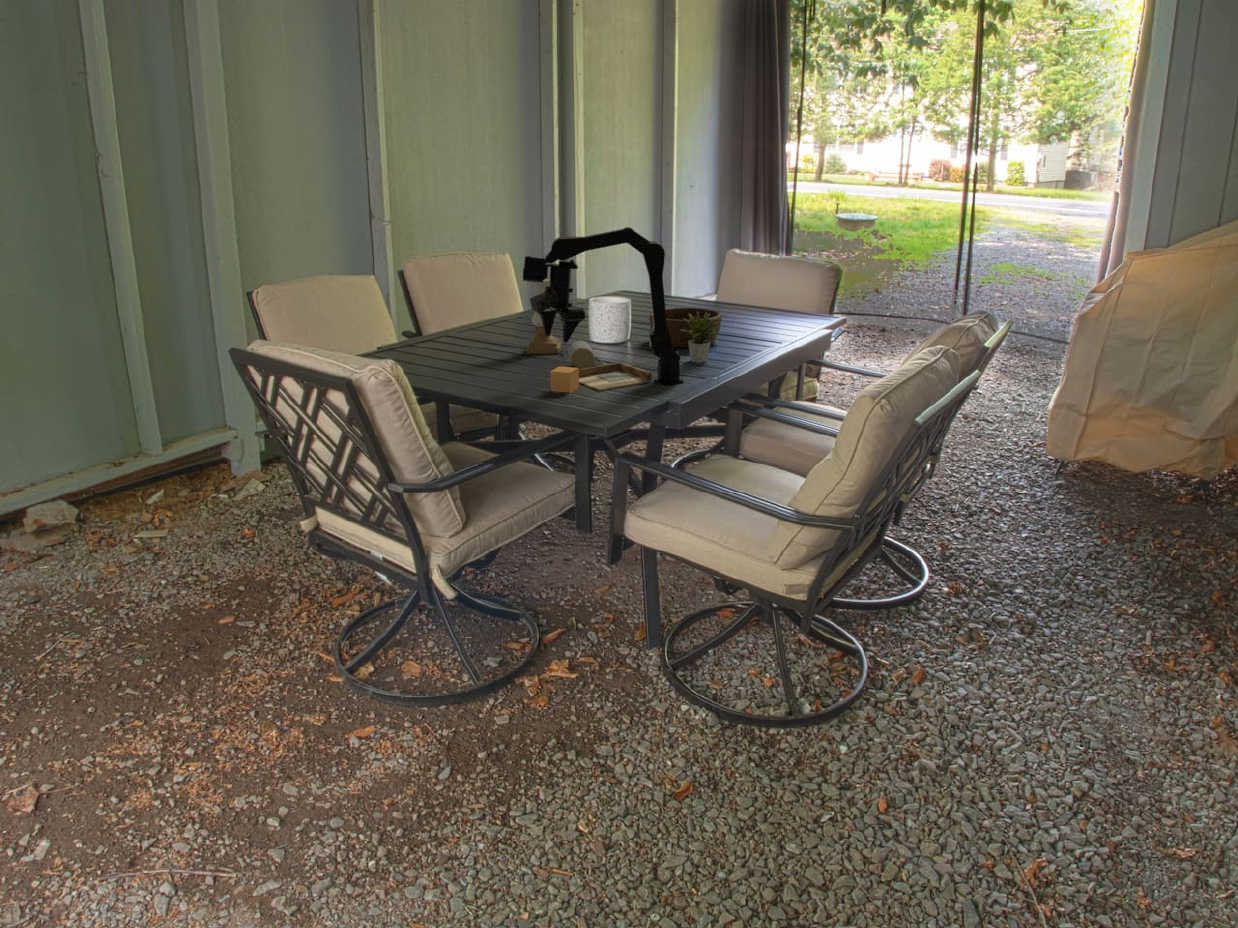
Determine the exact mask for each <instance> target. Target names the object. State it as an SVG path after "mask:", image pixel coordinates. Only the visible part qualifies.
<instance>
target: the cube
mask: <svg viewBox="0 0 1238 928" xmlns="http://www.w3.org/2000/svg"><path fill="white" fill-rule="evenodd" d="M549 376H550V392H551V391H558V392H557V393H559V392H569V393H571V392H572V393H574V392H575V391H574V390H576V389H577V390H579V389H580V383H579V368H576V367H571V366H558V367H556V368H554V369H552V370H550V371H549ZM578 388H579V389H578ZM577 390H576V391H577ZM573 391H574V392H573ZM569 393H568V394H569ZM572 393H571V394H572Z"/></svg>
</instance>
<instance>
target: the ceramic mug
mask: <svg viewBox="0 0 1238 928" xmlns="http://www.w3.org/2000/svg"><path fill="white" fill-rule="evenodd" d="M567 356H568V358H569V360H570V362H571V364H572V365H573V366H574V368H579V369H582V368H588V367H592V366H593V367H594V366H600V365H605V363H604V360H602V359H600V358H599V357H597V356H595V354H594V352H593V348H592V347H591V345H590V344H589V343H588V342H587V341H584V340H577V341H574V342H573V343H571V345H570V346H569V348H568V351H567Z"/></svg>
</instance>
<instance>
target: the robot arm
mask: <svg viewBox="0 0 1238 928" xmlns="http://www.w3.org/2000/svg"><path fill="white" fill-rule="evenodd" d="M622 244H628V245H630V246H631V247H632V248H634V249H635V250H636V251H638V252H639V253H640V254H641V255H642V258H643V260H644V265H645V267H646V271H647V274H648V279H649V291H650V300H651V312H652V313H653V331H651V330H648V331H647V333H648V336H649V342H648V345H649V346H648V347H649V349H650V350H652V351H653V354H654V356H656V357H657V358H659V359H658V360H657V378H653V381H654V382H656V383H659V384H662V385H665V386H671V385H675V384H680V383H684V382H685V380H684V379H681V377H680V375H681V373H680V372H681V369H680V368H681V365H680V363H681V362H680V360H681V356H680V353H679V351H678V349H677V348H674V347H673V345H672V341H671V337H670V334H669V331H668V327H667V322H666V311H665V309H666V302H665V301H666V300H665V289H664V279H663V274H664V267H665V257H666V256H665V255H666V253H665V249H664V247H663V246H662V245H661V244H660V243H659V242H658V241H656V240H651V241H650V240H648V239H647V238H646V237H644V236H642V235H641V234H639V233H638V232H636V231H635V229H633V228H632V227H631V226H626V227H624V228H621V229H620V228H619V229H616V230H610V231H605V232H601V233H596V234H591V235H585V236H558V237H556V238H555V239H554V240H553V242H552V245H551V250H550V251H549V252H548V253H546V254H545V257H537V256H530V255H525V256H524V264H523V270H522V281H523V282H526V281H532V282H543V280H545V279H547V277H550V285H549V286H546V288H545V292H544V293H541V294H539V295H535V296H534V295H533V296H532V297H531V298H529V301H530V305H531V309H532V311H534V313H535V312H537V313H538V314H539V315H540V316H541V319H542V323H543V327H544V331H545V335H546V336H549V335H550V332H551V329H552V330H553V325H554V322H555V318H556V315H557V313H559V316H560V318H559V321H560V322H561V324H562V335H563V336H562V339H563V340H562V341H563V343H565V344H567V343H568V342H569V340H570V339H571V337H572V335H573V333H574V332H575V330H576V328H577V326H579V324H580V323H581V322H583V320H586V311H585V310H584V309H583V308H581V307H577V306H573V303H572V302H570V293H574V288H572V287H571V277H572V276H571V274H572V270H577V269H578V267H579V265H578V264H577V263H576V262H575V260H574V259H573V258H572V257H576V256H578V255H580V254H582V253H585V252H587V251H593V250H596V249H597V250H598V249H603V248H607V247H612V246H617V245H622ZM571 258H572V259H571ZM567 259H568V260H569V259H571V260H570V261H566V260H567ZM557 261H558V263H555V262H557ZM549 268H550V270H549ZM548 275H549V276H548Z"/></svg>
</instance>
